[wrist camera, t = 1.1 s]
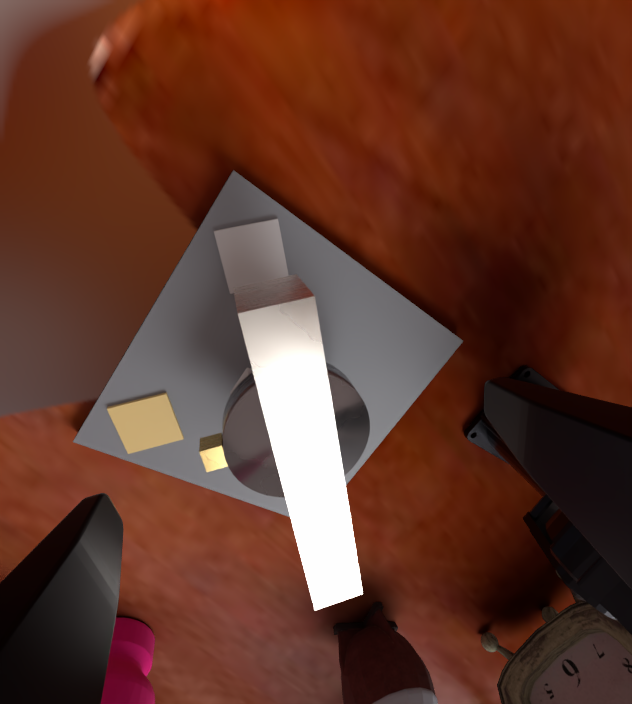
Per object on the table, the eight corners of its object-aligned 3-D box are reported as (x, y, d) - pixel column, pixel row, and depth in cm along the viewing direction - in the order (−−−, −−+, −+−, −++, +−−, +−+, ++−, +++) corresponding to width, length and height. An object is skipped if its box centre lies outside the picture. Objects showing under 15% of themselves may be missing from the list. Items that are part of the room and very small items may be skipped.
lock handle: (371, 507, 23) (405, 579, 19) (240, 548, 22) (247, 634, 18) (340, 254, 16) (381, 281, 12) (150, 294, 15) (127, 338, 11)
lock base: (456, 336, 24) (494, 361, 21) (310, 516, 28) (324, 563, 24) (232, 170, 18) (237, 169, 14) (77, 432, 21) (51, 481, 18)
